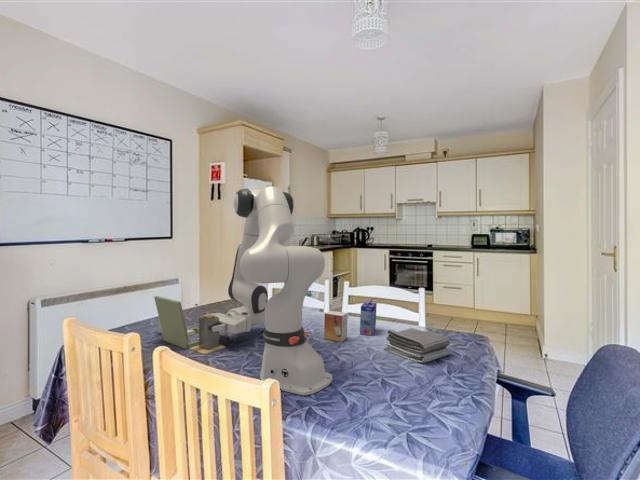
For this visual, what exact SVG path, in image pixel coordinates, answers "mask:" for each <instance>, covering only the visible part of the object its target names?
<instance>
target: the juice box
mask: <svg viewBox="0 0 640 480" xmlns="http://www.w3.org/2000/svg"><path fill="white" fill-rule="evenodd" d="M373 300H374V298H372V299H371V300H370V301H364V303H362V304H361V305H360V316H359V317H360V320H359V322H360V323H359V324H360V325H359V334H360V335H364V336H365V335H366V336H371V337H372V336H373V334H374V333H375V331H376V325H377V324H376V323H377V306H378V304H377V302H375V301H374V302H373Z"/></svg>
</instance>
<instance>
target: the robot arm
mask: <svg viewBox="0 0 640 480" xmlns="http://www.w3.org/2000/svg"><path fill="white" fill-rule="evenodd" d="M294 205H295V204H294V199H293V196H292V195H291V193H289V192H285V191H283V190H282V189H280V188H278V187H277V186H272V185H271V186H270V185H269V186H265V187H263V188H262V189H261V188H254V189H253V188H250V189H249V188H243V189H239V190H238V191H237V192H236V193H235V196H234V199H233V208H234V210H235V211H234V212H235V213H236V215H237V216H238V217H241V218H244V225H243V235H242V241H241V243H240V244H239V245H238V247H237V250H236V254H235V259H234V265H233V271H232V274H231V275H232V276H231V279H230V282H229V285H228V289H227V291H228V292H227V293H228V296H229V298H230V299H231V300H232V301H234V302H237V303H241V304H242V306H239V307H238V306H237V307H234V308H231V309H229V310H228V311H227V312H226V314H225V313H221V312H215V313H214V312H213V313H208V314H207V315H209V314H211V315H215V316H217V317H219V325H217V326H211V331H213V332H215V331H219V332H226V333H229V334H232V335H233V334H235V335H236V334H241V333H248V332H251V330H252V327H255V326H258V325H261V324H263V323H265V324H264V328H263V341H264V347H263V354H262V361H261V362H262V363H261V368H260V371H259V380H260V379H261V380H264V379H267V378H272V379H276V380H278V381H279V382H280V386H281V390H280V391H282V392H283V391H284V392H287V393H291V394H295V395H300V396H308V395H309V396H310V395H312V394H315V393H317V392H320V391H322V390H323V389H325V388H326V387H328V386H329V385H330V384H331V383H332V382H333V374H332V373H329V372H328V371H326V369H325V362H324V358H323V357H322V356H321V355H320V354H319V353H318V352H317V351H316V350H315V349H314V348H313V347H312V345H311V344H310V343H309V342H308V341H307V337H309V336H310V335H309V334H310V332H305V330H304V328H303V324H302V323H303V308H304V302H305V301H304V300H305V298H306V295H307V293H308V291H309V289H310V288H311V286H312V285H313V284H314V282H316V281H317V280H318V279H319V278H320V277H321V276H322V274H323V273H324V271H325V269H326V268H325V266H326V260H325V256H324V255H323V253H322V251H321V250H320V249H319V248H316V247H311V246H306V245H284V244H286V243H287V242H288V241H289V240H290V239H292V236H293V235H294V232H295V226H294V223H293V218H292V214H293V211H294ZM278 283H279V284H280V283H284V284H283V287H282V289H281V290H280V291H279V292H277V293H275V294H274V295H272V296H271V297H269V293H268V289H267V288H266V287H265V286H264V285H262V284H265V285H266V284H278ZM205 315H206V314H204V315H202V316H201V317H203V316H205Z"/></svg>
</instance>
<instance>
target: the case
mask: <svg viewBox="0 0 640 480" xmlns="http://www.w3.org/2000/svg"><path fill="white" fill-rule="evenodd" d="M153 298H154V302H155V306H156V310H157V314H158V321H159V320H160V324H161V328H162V334H161V340H162V341H164V342H167V343H169V344H172V345H175V346H177V347H180V348H182V349H184V350H188V349H190V348H192V347H195V346H198V345H199V340H195V341H192V342H189V336H194V335H195V334H196V333H198V334H199V327H196V326H195V327H191V328H188V329H187V324H186V321H185V315H184V311H183V308H182V307H183V305H182V303H181V301H178V300H176V299H172V298H167V297H164V296H163V297H162V296H158V295H155V296H153ZM219 340H221V334H219Z"/></svg>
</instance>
